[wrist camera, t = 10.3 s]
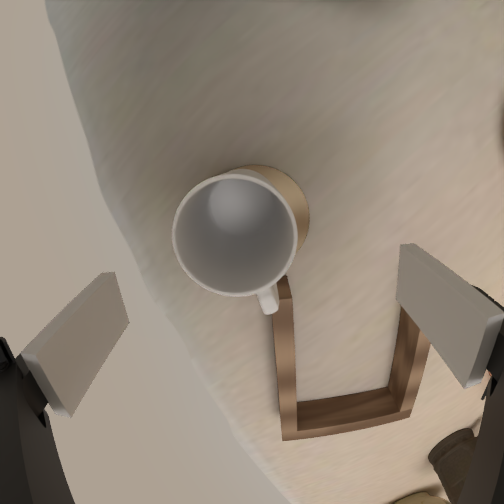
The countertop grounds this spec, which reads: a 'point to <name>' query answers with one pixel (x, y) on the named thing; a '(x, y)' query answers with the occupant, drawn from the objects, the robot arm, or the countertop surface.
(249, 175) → the mug
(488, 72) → the countertop surface
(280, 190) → the coaster
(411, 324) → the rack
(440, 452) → the beer stein
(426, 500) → the pitcher
